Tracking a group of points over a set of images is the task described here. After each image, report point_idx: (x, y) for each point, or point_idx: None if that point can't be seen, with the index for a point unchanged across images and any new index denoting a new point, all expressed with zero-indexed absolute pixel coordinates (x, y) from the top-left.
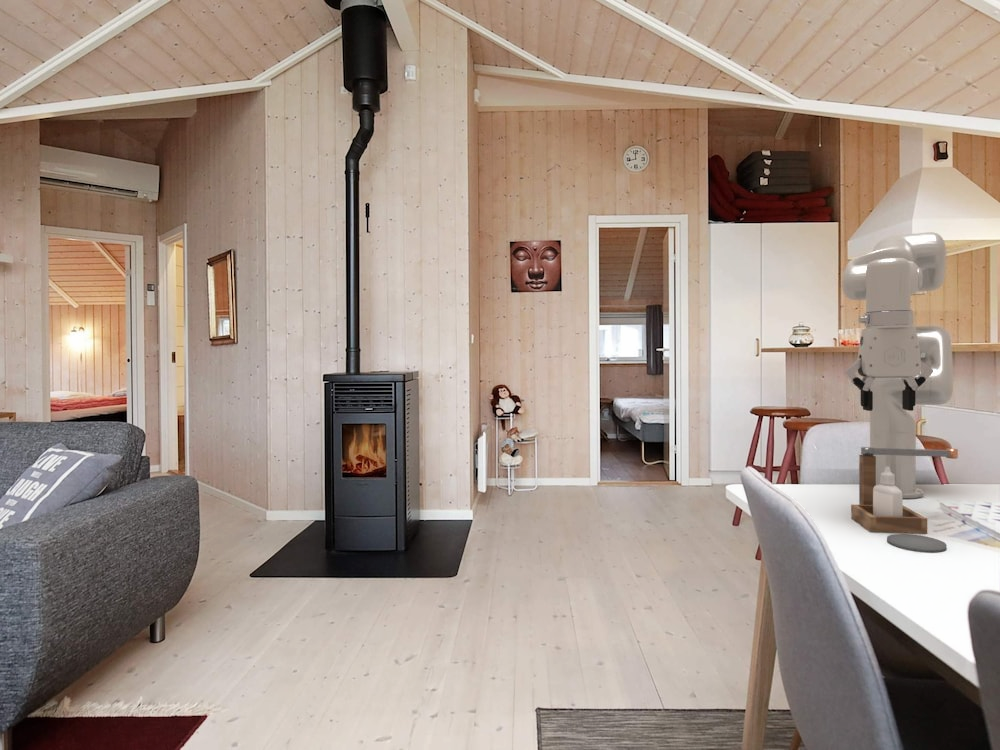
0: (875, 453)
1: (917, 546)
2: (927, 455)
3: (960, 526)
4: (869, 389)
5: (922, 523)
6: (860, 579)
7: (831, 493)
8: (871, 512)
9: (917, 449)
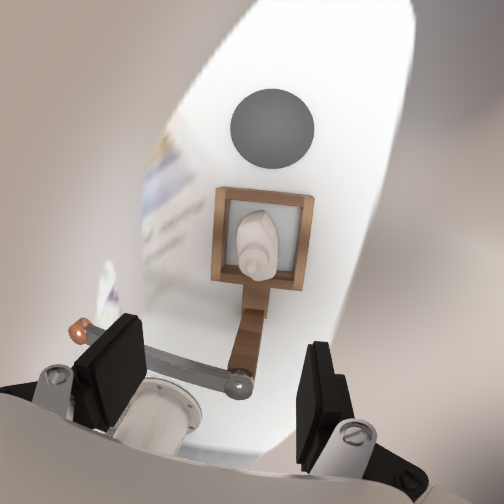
0: (226, 371)
1: (285, 100)
2: None
3: (149, 233)
4: (323, 436)
5: (226, 188)
6: (410, 13)
7: (252, 415)
8: None
9: None
